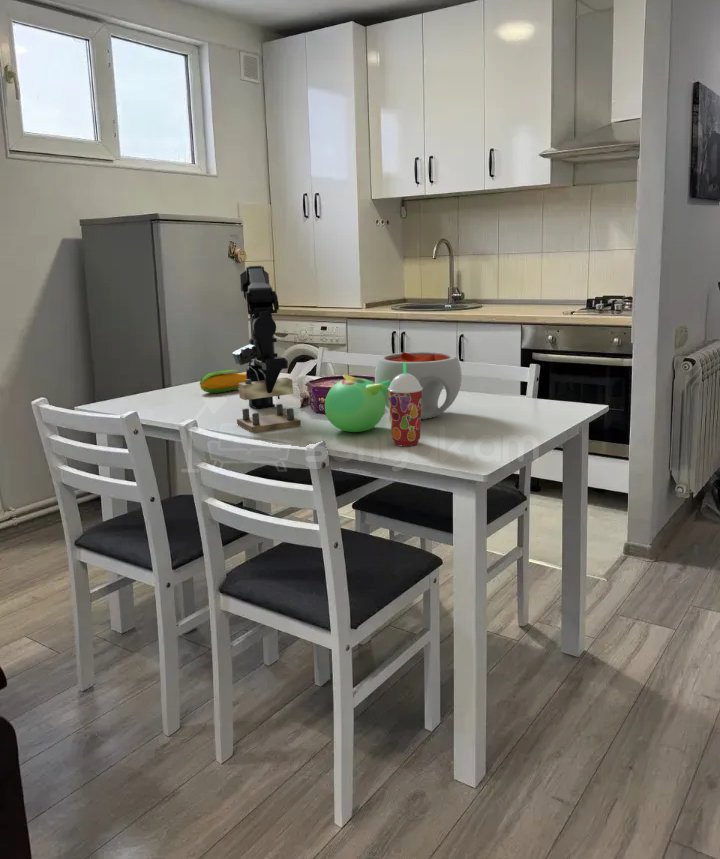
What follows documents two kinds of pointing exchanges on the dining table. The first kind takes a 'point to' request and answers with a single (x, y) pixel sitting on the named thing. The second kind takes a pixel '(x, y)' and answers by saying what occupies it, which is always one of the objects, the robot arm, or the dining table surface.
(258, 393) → the wooden block
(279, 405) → the peg rest
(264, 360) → the robot arm
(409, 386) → the smoothie
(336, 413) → the toy bird
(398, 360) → the pot
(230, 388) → the corn
